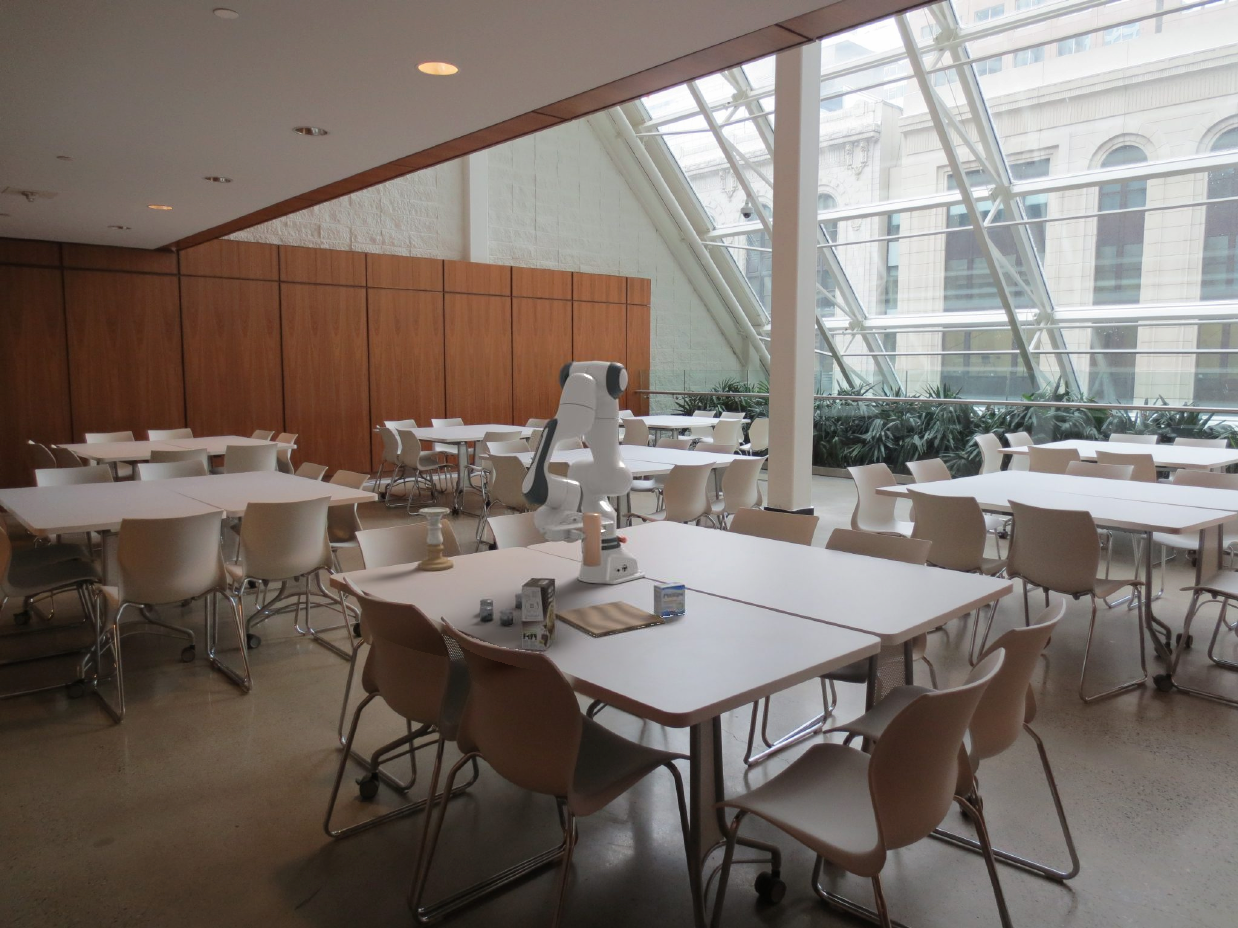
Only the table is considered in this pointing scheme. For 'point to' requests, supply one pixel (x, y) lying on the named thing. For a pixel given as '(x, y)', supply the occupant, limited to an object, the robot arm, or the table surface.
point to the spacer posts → (505, 615)
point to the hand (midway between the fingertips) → (593, 534)
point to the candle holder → (434, 541)
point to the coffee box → (538, 613)
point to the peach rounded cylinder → (592, 539)
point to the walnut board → (608, 618)
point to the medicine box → (669, 599)
